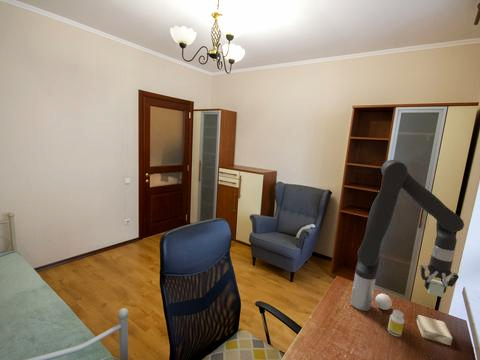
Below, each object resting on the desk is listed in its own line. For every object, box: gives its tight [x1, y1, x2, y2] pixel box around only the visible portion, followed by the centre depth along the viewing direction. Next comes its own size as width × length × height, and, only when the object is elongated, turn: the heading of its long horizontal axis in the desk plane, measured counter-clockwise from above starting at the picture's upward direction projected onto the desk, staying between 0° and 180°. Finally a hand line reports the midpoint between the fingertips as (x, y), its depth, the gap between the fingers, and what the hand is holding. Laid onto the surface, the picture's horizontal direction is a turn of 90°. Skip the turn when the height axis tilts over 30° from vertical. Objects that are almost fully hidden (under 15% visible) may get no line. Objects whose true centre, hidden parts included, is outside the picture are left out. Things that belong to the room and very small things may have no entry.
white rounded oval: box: [374, 293, 393, 311], centre depth 123 cm, size 10×7×7 cm
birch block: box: [416, 314, 453, 346], centre depth 110 cm, size 10×10×4 cm
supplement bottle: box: [387, 309, 405, 337], centre depth 108 cm, size 5×5×10 cm
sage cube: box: [426, 278, 445, 298], centre depth 112 cm, size 5×5×5 cm
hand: (434, 290), depth 112 cm, fingers closed on sage cube, 5 cm apart
